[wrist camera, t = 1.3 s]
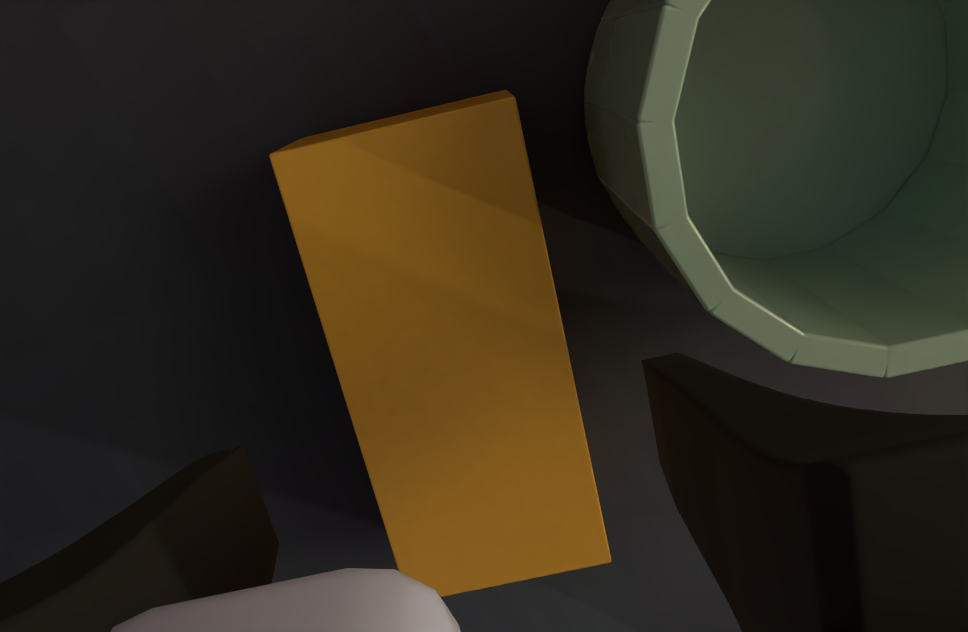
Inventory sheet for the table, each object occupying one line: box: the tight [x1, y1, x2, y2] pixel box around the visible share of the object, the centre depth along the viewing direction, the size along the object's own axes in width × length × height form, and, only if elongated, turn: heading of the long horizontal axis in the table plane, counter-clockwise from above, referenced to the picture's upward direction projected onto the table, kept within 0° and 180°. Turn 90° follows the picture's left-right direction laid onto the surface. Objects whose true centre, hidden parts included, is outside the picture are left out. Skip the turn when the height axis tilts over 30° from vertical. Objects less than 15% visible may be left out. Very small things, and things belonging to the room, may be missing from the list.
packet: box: [269, 90, 611, 597], centre depth 18 cm, size 5×11×3 cm, turn 13°
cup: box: [584, 0, 968, 378], centre depth 15 cm, size 9×9×6 cm
